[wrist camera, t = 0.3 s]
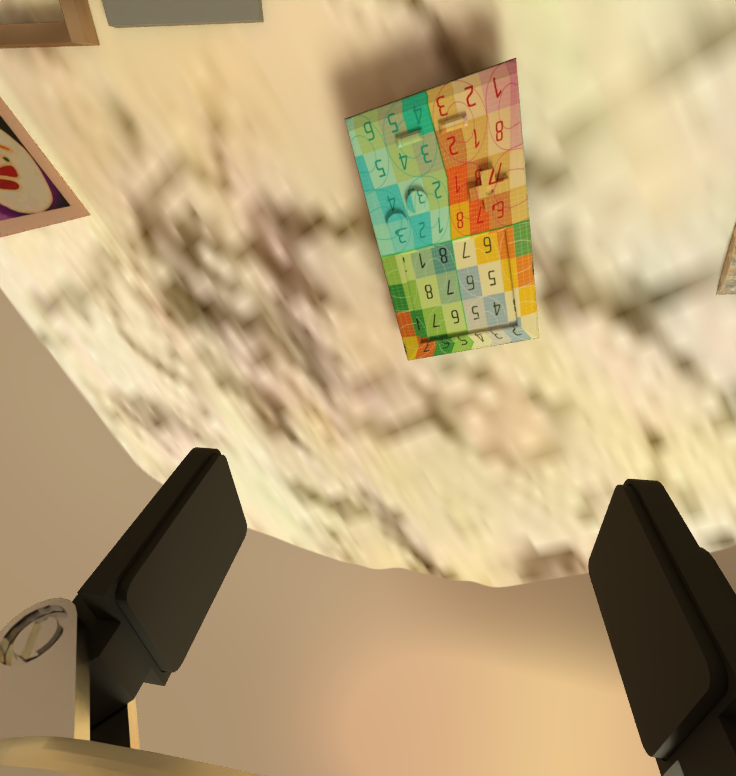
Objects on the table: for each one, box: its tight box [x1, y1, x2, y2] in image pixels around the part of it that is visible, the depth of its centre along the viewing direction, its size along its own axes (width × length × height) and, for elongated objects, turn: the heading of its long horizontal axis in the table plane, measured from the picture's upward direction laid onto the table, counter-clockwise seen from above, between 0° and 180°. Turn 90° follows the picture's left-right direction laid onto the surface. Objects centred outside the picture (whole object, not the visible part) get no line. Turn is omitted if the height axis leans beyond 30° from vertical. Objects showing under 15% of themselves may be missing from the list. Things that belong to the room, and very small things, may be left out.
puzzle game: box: [345, 58, 539, 360], centre depth 34 cm, size 12×5×20 cm
